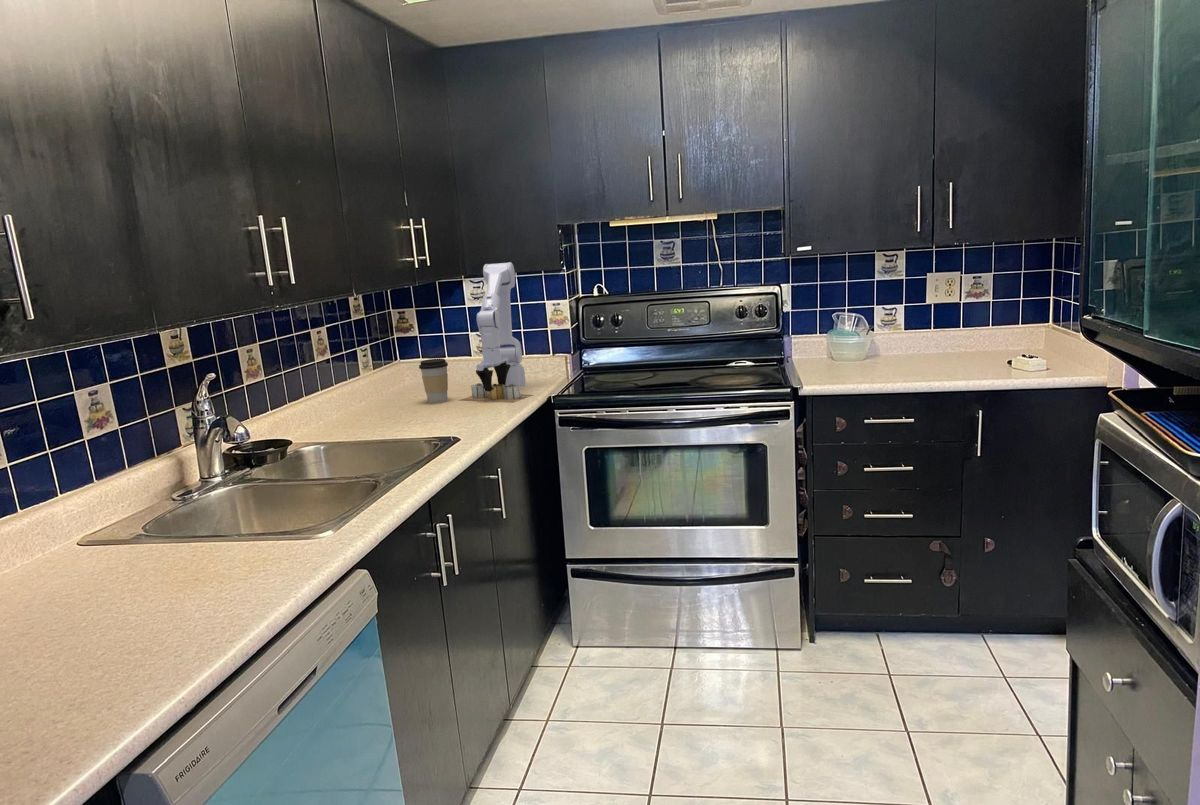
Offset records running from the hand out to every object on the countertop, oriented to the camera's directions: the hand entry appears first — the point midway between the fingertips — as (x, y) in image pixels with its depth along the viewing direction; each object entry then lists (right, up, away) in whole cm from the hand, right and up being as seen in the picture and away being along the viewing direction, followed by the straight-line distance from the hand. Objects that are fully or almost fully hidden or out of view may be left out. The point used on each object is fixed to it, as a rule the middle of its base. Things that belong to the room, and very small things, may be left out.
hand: (495, 388), depth 265 cm
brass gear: (+1, -3, 0) cm, 3 cm away
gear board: (0, -4, +1) cm, 4 cm away
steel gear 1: (-5, -3, +4) cm, 7 cm away
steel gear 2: (+6, -3, -3) cm, 7 cm away
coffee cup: (-19, -6, +3) cm, 20 cm away
